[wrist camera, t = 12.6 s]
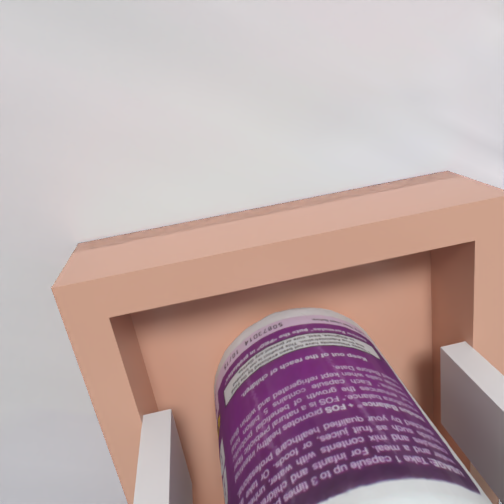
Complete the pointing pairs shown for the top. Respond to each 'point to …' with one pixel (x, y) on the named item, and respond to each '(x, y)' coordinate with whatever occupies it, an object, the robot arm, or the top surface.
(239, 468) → the pill bottle
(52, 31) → the top surface
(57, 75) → the top surface
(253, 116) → the top surface
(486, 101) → the top surface
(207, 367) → the dish
